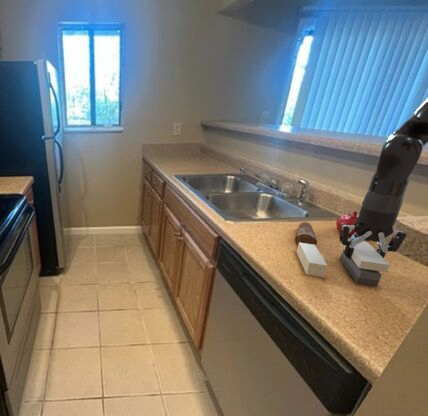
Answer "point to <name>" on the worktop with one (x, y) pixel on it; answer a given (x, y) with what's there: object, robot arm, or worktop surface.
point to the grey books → (360, 272)
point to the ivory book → (368, 257)
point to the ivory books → (311, 260)
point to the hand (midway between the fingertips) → (361, 259)
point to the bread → (305, 234)
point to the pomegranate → (347, 221)
